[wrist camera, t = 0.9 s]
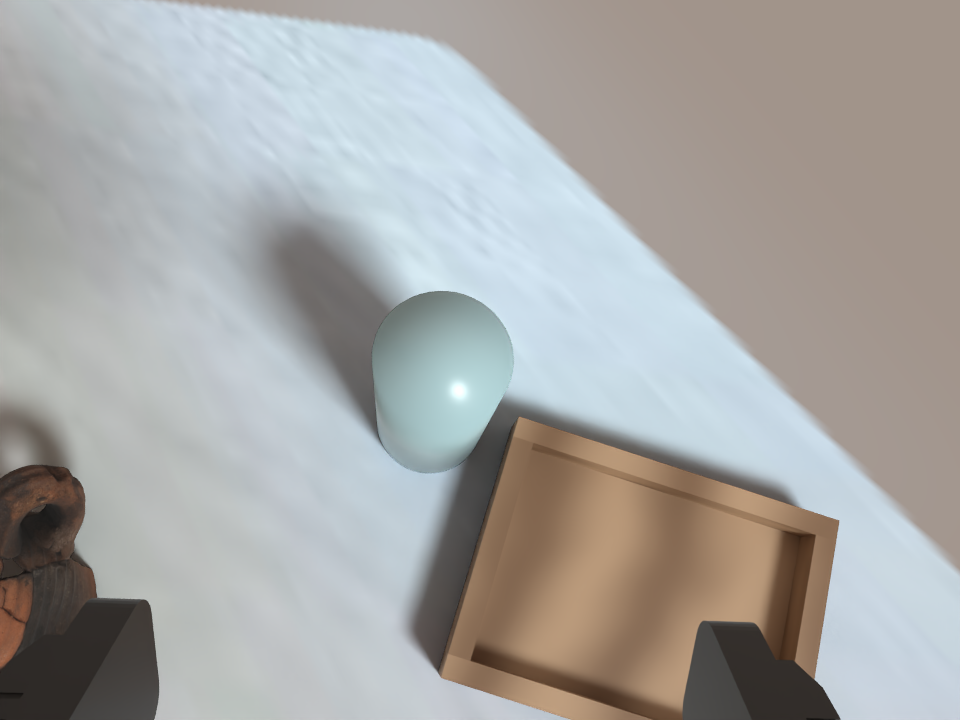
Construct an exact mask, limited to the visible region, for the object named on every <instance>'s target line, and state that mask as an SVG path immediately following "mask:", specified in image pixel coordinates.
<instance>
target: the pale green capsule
mask: <svg viewBox="0 0 960 720" xmlns="http://www.w3.org/2000/svg"><path fill="white" fill-rule="evenodd" d="M513 365H514V356H513V348H512V344H511V340H510V337H509V335H508V333H507V331H506V328H505V327H504V325H503V324H502V322H501V321H500V319H499V318H498V317H497V316H496V315H495V313H493V312H492V311H491V310H490V309H489V308H488V307H487V306H485V305H484V304H482V303H481V302H479V301H477V300H476V299H474V298H472V297H469V296H467V295H464V294H460V293H456V292H449V291H434V292H427V293H423V294H419V295H417V296H414V297H411V298H409V299H408V300H406V301H404V302H402V303H401V304H399V305H398V306H397V307H395V308H394V309H393V310H392V311H391V312H390V313H389V314H388V316H387V317H386V318H385V319H384V321H383V322H382V324H381V325H380V327H379V329H378V331H377V334H376V336H375V339H374V343H373V349H372V370H373V382H374V393H375V405H376V417H377V427H378V433H379V437H380V440H381V442H382V445H383V446H384V448H385V450H386V451H387V453H388V454H389V455H390V456H391V457H392V458H393V459H394V460H395V461H396V462H397V463H399V464H400V465H402V466H404V467H405V468H407V469H410V470H412V471H416V472H420V473H439V472H443V471H447V470H449V469H452V468H454V467H456V466H457V465H459V464H460V463H462V462H463V461H464V460H465V459H466V458H467V457H468V456H469V455H470V454H471V452H472V451H473V450H474V448H475V446H476V444H477V442H478V441H479V439H480V437H481V435H482V433H483V432H484V430H485V428H486V426H487V424H488V423H489V421H490V419H491V417H492V415H493V414H494V412H495V410H496V408H497V406H498V404H499V403H500V401H501V399H502V397H503V395H504V394H505V392H506V390H507V388H508V386H509V383H510V380H511V377H512V373H513Z"/></svg>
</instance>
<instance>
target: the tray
mask: <svg viewBox="0 0 960 720" xmlns="http://www.w3.org/2000/svg"><path fill="white" fill-rule="evenodd" d="M838 526H839V520H836V519H833V518H829V517H826V516H823V515H820V514H817V513H814V512H811V511H808V510H805V509H802V508H799V507H796V506H793V505H790V504H786V503H783V502H780V501H777V500H774V499H771V498H768V497H765V496H762V495H759V494H756V493H753V492H750V491H747V490H743V489H740V488H737V487H734V486H731V485H728V484H725V483H722V482H719V481H716V480H713V479H710V478H707V477H704V476H700V475H697V474H694V473H691V472H688V471H685V470H682V469H679V468H676V467H673V466H670V465H667V464H664V463H661V462H658V461H654V460H651V459H648V458H645V457H642V456H639V455H636V454H633V453H630V452H627V451H624V450H621V449H618V448H615V447H611V446H608V445H605V444H602V443H599V442H596V441H593V440H590V439H587V438H584V437H581V436H578V435H575V434H572V433H568V432H565V431H562V430H559V429H556V428H553V427H550V426H547V425H544V424H541V423H538V422H535V421H532V420H529V419H526V418H522V417H518V419H517V420H516V422H515V423H514V425H513V426H512V428H511V431H510V434H509V438H508V441H507V444H506V448H505V451H504V454H503V458H502V461H501V464H500V468H499V471H498V474H497V478H496V481H495V484H494V488H493V491H492V494H491V498H490V501H489V504H488V507H487V511H486V514H485V517H484V521H483V524H482V527H481V531H480V534H479V537H478V541H477V544H476V547H475V551H474V554H473V557H472V561H471V564H470V567H469V571H468V574H467V577H466V581H465V584H464V587H463V591H462V594H461V597H460V601H459V604H458V607H457V611H456V614H455V617H454V621H453V624H452V627H451V631H450V634H449V637H448V641H447V644H446V647H445V651H444V654H443V657H442V661H441V664H440V667H439V671H438V673H439V675H440V677H441V678H443V679H446V680H449V681H453V682H456V683H459V684H462V685H465V686H468V687H471V688H474V689H477V690H481V691H484V692H487V693H490V694H493V695H496V696H499V697H502V698H505V699H509V700H512V701H515V702H518V703H521V704H524V705H527V706H530V707H533V708H537V709H540V710H543V711H546V712H549V713H552V714H555V715H558V716H561V717H565V718H568V719H571V720H683V716H682V711H683V699H684V694H685V689H686V684H687V679H688V674H689V669H690V664H691V659H692V654H693V649H694V644H695V639H696V634H697V630H698V627H699V625H700V623H701V622H702V621H732V622H753V623H755V624H756V625H757V626H758V627H759V629H760V630H761V632H762V634H763V636H764V638H765V640H766V642H767V644H768V646H769V648H770V650H771V651H772V653H773V655H774V657H775V659H776V660H794V661H795V662H796V663H797V664H798V665H799V666H800V667H801V668H802V669H803V670H804V671H805V672H806V673H807V674H809V675H810V676H811V677H812V678H813V679H814V678H815V672H816V665H817V659H818V653H819V646H820V640H821V634H822V627H823V621H824V615H825V608H826V602H827V596H828V589H829V583H830V577H831V570H832V564H833V558H834V551H835V545H836V539H837V532H838Z"/></svg>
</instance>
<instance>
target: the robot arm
mask: <svg viewBox="0 0 960 720" xmlns="http://www.w3.org/2000/svg"><path fill="white" fill-rule="evenodd" d="M158 698H159V677H158V668H157V659H156V650H155V641H154V632H153V622H152V613H151V608H150V605H149V603H148V602H147V600H141V599H112V598H91V599H89V600H88V601H87V602H86V603H85V604H84V605H83V607H82V608H81V610H80V611H79V613H78V614H77V615H76V617H75V618H74V620H73V621H72V623H71V624H70V626H69V627H68V629H67V630H66V632H65V633H64V635H54V634H45V635H43V636H42V637H41V638H39V639H38V640H37V641H35V642H34V643H33V644H31V645H30V646H29V647H27V648H26V649H25V650H23V651H22V652H21V653H19V654H18V655H17V656H15V657H14V658H13V659H11V660H10V661H9V662H8V664H7V665H6V666H5V668H4V669H3V671H2V672H1V673H0V720H154V718H155V715H156V710H157V705H158ZM682 716H683V720H840V717H839V715H838V714H837V712H836V710H835V708H834V707H833V705H832V703H831V701H830V700H829V698H828V696H827V694H826V693H825V691H824V689H823V687H821V686H820V685H819V684H818V683H817V682H816V681H815V680H814V679H813V678H812V677H811V676H810V675H809V674H807V673H806V672H805V671H804V670H803V669H802V668H801V667H800V666H799V665H798V664H797V663H796V662H795V661H794V660H776V659H775V657H774V655H773V653H772V651H771V650H770V648H769V646H768V644H767V642H766V640H765V638H764V636H763V634H762V632H761V630H760V629H759V627H758V626H757V625H756V624H755V623H753V622H732V621H702V622H701V623H700V625H699V627H698V630H697V634H696V639H695V644H694V649H693V654H692V659H691V664H690V669H689V674H688V679H687V684H686V689H685V694H684V699H683V711H682Z"/></svg>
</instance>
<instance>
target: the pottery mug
mask: <svg viewBox="0 0 960 720" xmlns="http://www.w3.org/2000/svg"><path fill="white" fill-rule="evenodd" d="M44 504H46V506H45V508H44V509H43V510H42V511H40V512H38V513H35V512H30V511H31V510H32V509H34V508H36V507H38V506H41V505H44ZM84 515H85V493H84V490H83V487H82V485H81V483H80V482H79V481H78V479H77V478H75V477H73V476H72V475H71V473H70V471H69V470H68V469H67V468H65V467H56V466H48V465H30V466H26V467H22V468H19V469H16V470H14V471H12V472H10V473H8V474H6V475H5V476H3V477H2V478H1V479H0V673H1V672H2V671H3V669H4V668H5V666H6V665H7V664H8V662H9V661H10V660H11V659H13V658H14V657H15V656H17V655H18V654H19V653H21V652H22V651H23V650H25V649H26V648H27V647H29V646H30V645H31V644H33V643H34V642H35V641H37V640H38V639H39V638H41V637H42V636H43V635H45V634H54V635H64V633H65V632H66V630H67V629H68V627H69V626H70V624H71V623H72V621H73V620H74V618H75V617H76V615H77V614H78V613H79V611H80V610H81V608H82V607H83V605H84V604H85V603H86V602H87V601H88V600H89V599H91V598H97V594H96V584H95V579H94V575H93V571H92V570H91V569H90V568H88V567H85V566H81V565H80V564H79V563H78V562H76V561H73V560H72V559H71V558H70V556H71V554H72V553H73V551H74V540H75V538H76V535H77V533H78V531H79V529H80V527H81V525H82V522H83V519H84ZM11 558H12V559H13V560H14V561H15V562H16V563H17V564H18V565H20V567H21V568H22V569H23V570H24V572H23V573H22V574H20V575H18V576H13V577H9V578H3V579H1V574H2V571H3V561H2V560H3V559H11Z"/></svg>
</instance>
